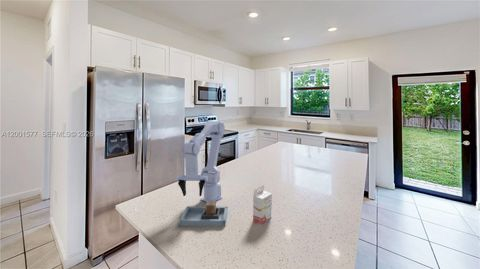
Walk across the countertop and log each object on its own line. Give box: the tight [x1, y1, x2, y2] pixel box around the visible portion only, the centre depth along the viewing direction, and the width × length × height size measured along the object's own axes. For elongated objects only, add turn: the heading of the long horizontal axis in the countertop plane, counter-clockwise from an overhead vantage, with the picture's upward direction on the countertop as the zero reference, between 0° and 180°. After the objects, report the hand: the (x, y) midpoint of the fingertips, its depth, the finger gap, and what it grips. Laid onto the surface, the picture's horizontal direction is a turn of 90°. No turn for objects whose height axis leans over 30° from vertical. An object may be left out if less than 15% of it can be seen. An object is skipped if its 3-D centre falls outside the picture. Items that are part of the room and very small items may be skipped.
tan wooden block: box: [205, 201, 217, 215], centre depth 96 cm, size 4×4×7 cm
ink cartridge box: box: [252, 184, 273, 225], centre depth 95 cm, size 9×5×15 cm, turn 141°
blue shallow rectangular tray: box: [178, 206, 229, 227], centre depth 97 cm, size 20×13×3 cm, turn 89°
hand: (192, 195), depth 100 cm, fingers open, 7 cm apart
